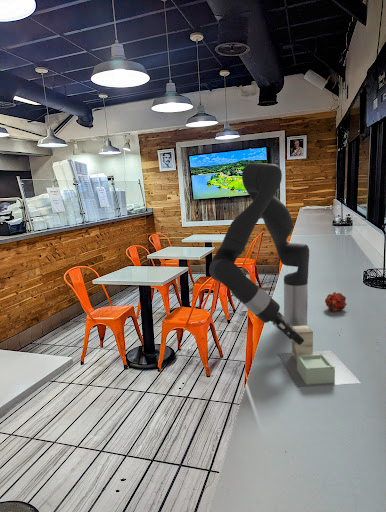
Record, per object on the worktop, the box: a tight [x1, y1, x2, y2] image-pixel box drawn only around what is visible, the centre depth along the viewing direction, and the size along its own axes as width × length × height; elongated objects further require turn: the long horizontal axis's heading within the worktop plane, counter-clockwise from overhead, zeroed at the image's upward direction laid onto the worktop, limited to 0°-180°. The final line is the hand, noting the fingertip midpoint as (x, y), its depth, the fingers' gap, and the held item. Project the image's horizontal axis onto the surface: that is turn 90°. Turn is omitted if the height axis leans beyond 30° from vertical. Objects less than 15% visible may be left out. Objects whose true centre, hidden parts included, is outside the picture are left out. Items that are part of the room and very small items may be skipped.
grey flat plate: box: [277, 349, 362, 388], centre depth 104 cm, size 20×18×1 cm
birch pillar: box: [291, 324, 314, 362], centre depth 109 cm, size 5×5×10 cm
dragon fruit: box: [324, 291, 348, 312], centre depth 152 cm, size 8×8×12 cm
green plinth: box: [297, 354, 335, 385], centre depth 99 cm, size 8×8×5 cm
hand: (297, 336), depth 108 cm, fingers open, 8 cm apart
